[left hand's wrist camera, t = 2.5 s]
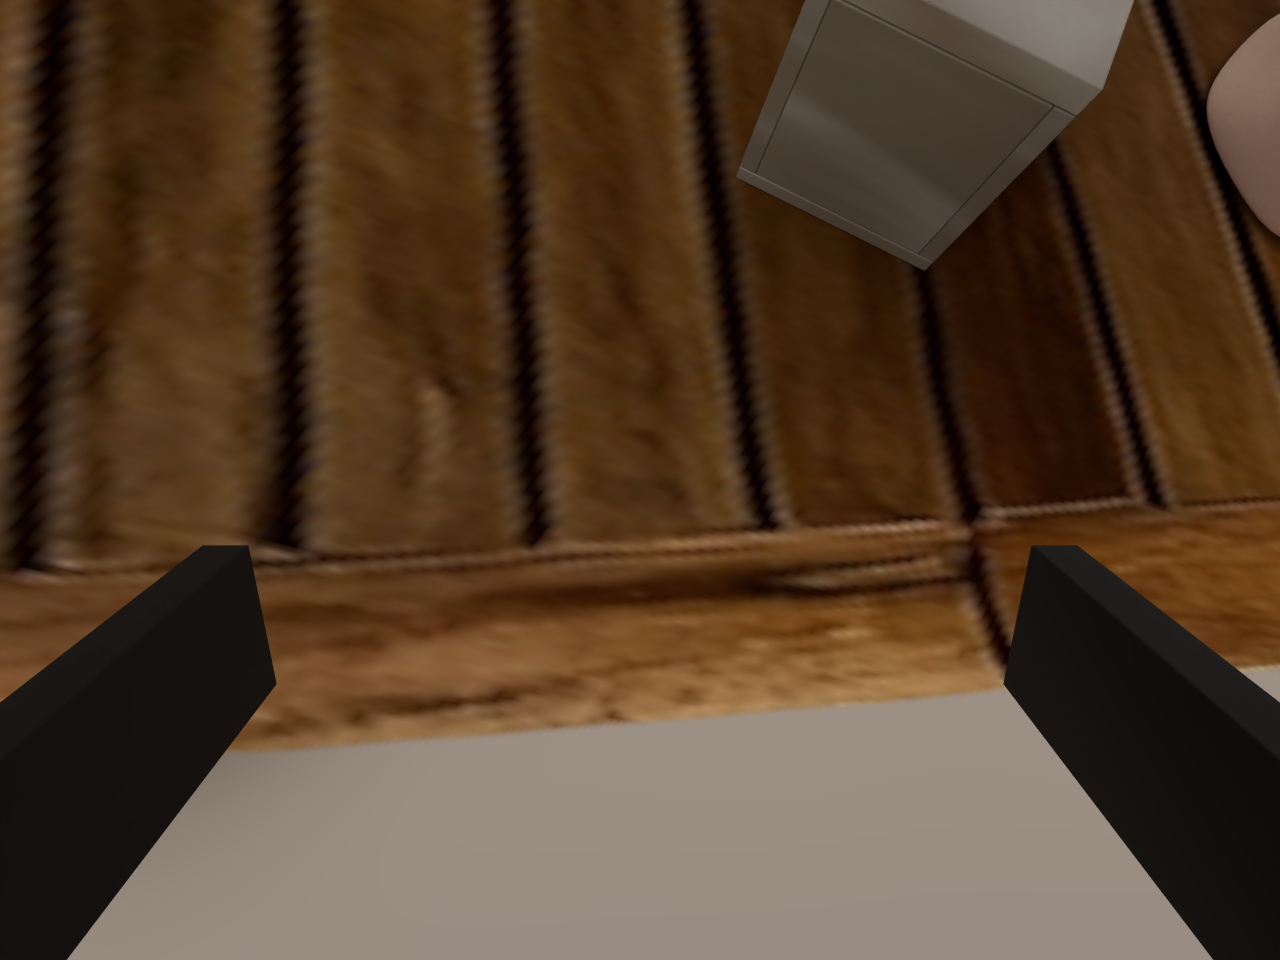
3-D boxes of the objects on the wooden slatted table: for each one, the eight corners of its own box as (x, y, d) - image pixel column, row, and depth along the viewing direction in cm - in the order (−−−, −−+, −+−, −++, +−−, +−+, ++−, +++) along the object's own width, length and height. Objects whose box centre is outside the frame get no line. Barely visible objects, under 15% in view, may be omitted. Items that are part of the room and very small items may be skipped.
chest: (858, -63, 36) (964, -307, 27) (1026, 21, 36) (1188, -195, 27) (734, 177, 32) (810, -15, 23) (924, 272, 32) (1075, 117, 23)
